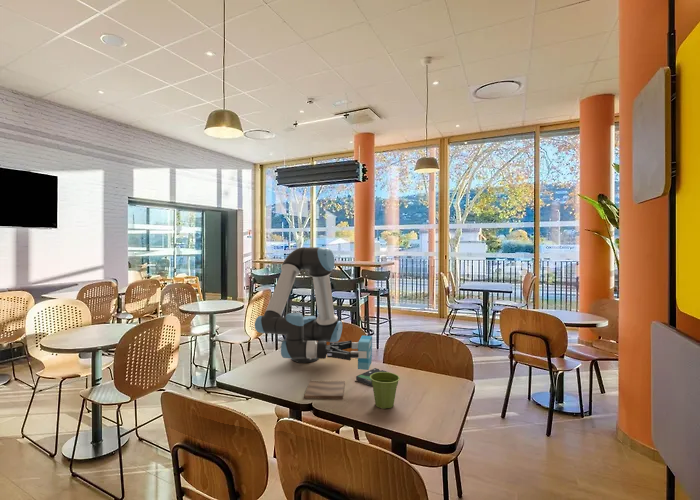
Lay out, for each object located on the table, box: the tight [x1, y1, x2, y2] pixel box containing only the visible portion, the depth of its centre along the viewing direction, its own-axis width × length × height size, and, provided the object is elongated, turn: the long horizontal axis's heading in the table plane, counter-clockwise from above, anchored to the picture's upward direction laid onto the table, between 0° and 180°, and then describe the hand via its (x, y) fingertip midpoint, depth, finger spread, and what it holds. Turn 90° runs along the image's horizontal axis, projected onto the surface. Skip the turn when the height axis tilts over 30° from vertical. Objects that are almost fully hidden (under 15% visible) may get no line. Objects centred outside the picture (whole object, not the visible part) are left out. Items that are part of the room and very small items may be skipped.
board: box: [304, 380, 346, 400], centre depth 156 cm, size 16×16×1 cm
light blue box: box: [357, 335, 373, 371], centre depth 155 cm, size 12×4×12 cm, turn 169°
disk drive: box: [355, 367, 388, 387], centre depth 169 cm, size 10×3×15 cm
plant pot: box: [370, 371, 401, 410], centre depth 141 cm, size 12×12×11 cm
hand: (366, 350), depth 155 cm, fingers closed on light blue box, 12 cm apart
